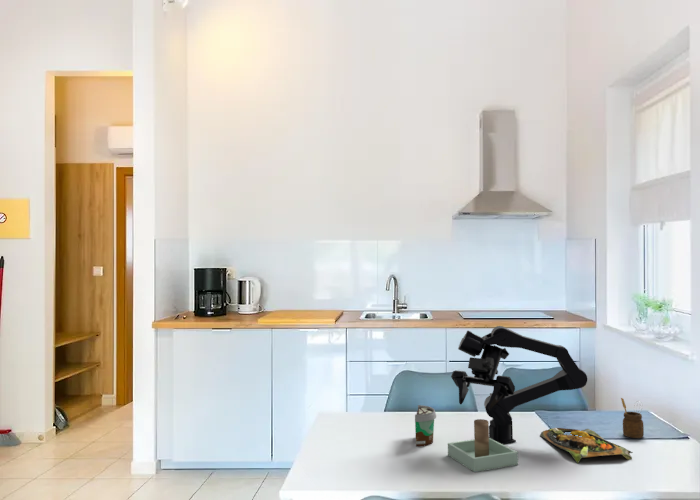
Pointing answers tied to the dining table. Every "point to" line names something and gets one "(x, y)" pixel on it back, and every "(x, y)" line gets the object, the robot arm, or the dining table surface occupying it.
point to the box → (496, 458)
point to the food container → (424, 425)
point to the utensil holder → (632, 423)
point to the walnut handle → (481, 437)
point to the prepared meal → (583, 443)
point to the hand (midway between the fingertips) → (474, 405)
